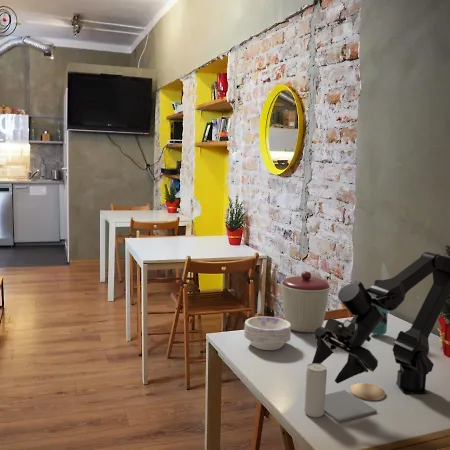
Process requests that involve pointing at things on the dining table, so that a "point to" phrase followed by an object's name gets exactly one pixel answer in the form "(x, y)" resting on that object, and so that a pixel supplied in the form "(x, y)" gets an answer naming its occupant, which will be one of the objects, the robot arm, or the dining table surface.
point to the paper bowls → (267, 332)
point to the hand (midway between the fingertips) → (323, 374)
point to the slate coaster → (345, 406)
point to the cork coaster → (367, 391)
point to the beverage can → (315, 390)
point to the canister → (305, 302)
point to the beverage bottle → (380, 327)
